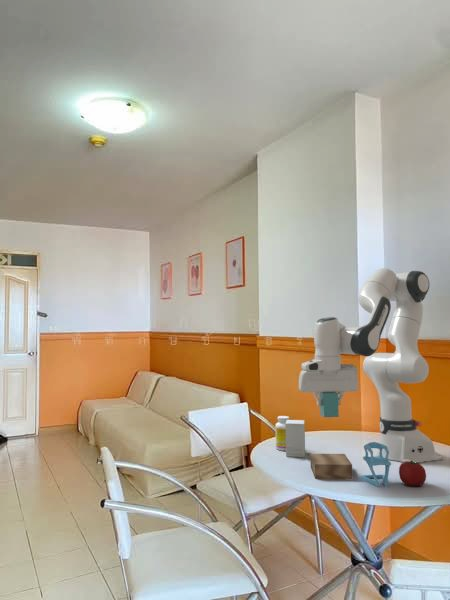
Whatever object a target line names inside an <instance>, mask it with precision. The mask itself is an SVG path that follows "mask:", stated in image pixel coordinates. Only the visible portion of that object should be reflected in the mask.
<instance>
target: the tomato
mask: <svg viewBox="0 0 450 600" xmlns="http://www.w3.org/2000/svg"><path fill="white" fill-rule="evenodd" d="M398 475H399V479H400V480H401V482H402V483H403V484H404V485H405V486H410V487H412V486H413V487H421V485H424V484H425V482H426V481H427V473H426V469H425V468H424V466H423V465H422V464H421V463H420V462H417V463H415V462H413V461H410V462H408V461H406V462H401V464H400V465H399V467H398Z"/></svg>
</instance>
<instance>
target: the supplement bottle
mask: <svg viewBox="0 0 450 600" xmlns="http://www.w3.org/2000/svg"><path fill="white" fill-rule="evenodd" d="M286 420H290V417H289V416H288V415H287V416H286V415H278V416H277V421H278V422H276V423H275V425H274V426H275V448H276V450H278V451H285V452H286Z"/></svg>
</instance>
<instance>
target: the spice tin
mask: <svg viewBox="0 0 450 600" xmlns="http://www.w3.org/2000/svg"><path fill="white" fill-rule="evenodd" d="M338 396H339V394H338V392H319V395H318V398H319V399H321V400H322V405H319V415H320V416H322V417H323V418H339V417H340V416H339V414H340V412H339V405H338Z"/></svg>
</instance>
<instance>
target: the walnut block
mask: <svg viewBox="0 0 450 600" xmlns="http://www.w3.org/2000/svg"><path fill="white" fill-rule="evenodd" d="M309 455H310V456H309V458H310V459H309V461H310V469H311V472H312V473H313V474H312V475H313V477H314V479H315V480H353V464H352V463H351V461H350V459H349V458H348V456H347V455H346V454H345V453H310V454H309Z"/></svg>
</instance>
